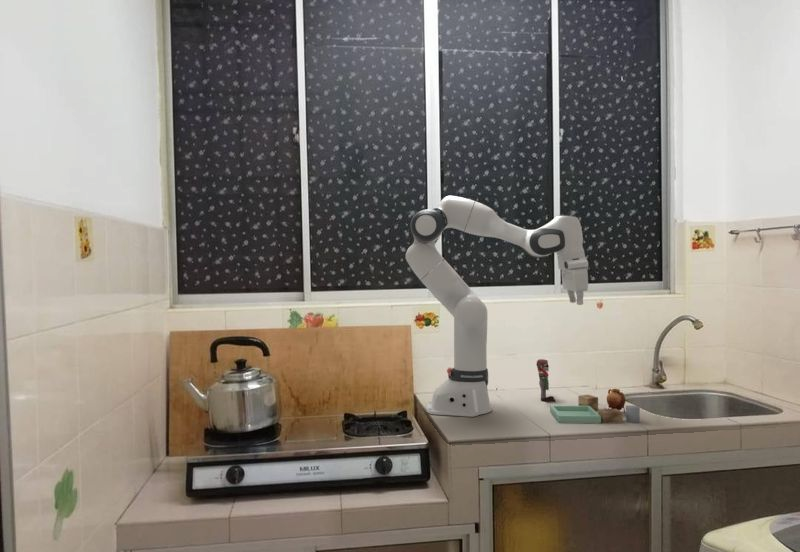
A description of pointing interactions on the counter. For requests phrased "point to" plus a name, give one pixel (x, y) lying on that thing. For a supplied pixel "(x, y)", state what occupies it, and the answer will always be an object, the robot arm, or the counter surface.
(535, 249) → the robot arm
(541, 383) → the toy
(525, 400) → the counter surface
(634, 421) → the blue-grey cube
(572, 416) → the tray
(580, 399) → the oak cube
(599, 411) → the walnut block
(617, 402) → the pot
